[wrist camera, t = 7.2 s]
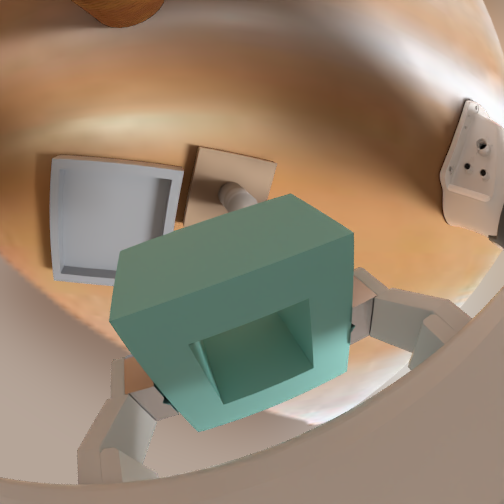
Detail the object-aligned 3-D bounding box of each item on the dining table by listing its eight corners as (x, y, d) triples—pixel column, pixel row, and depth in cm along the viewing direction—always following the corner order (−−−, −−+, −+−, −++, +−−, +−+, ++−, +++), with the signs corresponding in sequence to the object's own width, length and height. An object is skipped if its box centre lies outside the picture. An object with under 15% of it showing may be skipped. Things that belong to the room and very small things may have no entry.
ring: (120, 251, 8) (109, 321, 5) (290, 193, 9) (353, 233, 6) (182, 365, 11) (198, 432, 8) (306, 317, 12) (346, 371, 10)
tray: (59, 154, 18) (52, 158, 16) (181, 166, 22) (184, 171, 21) (59, 269, 22) (53, 280, 21) (163, 278, 27) (165, 289, 25)
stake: (198, 145, 22) (208, 153, 18) (272, 161, 25) (298, 173, 21) (182, 222, 25) (189, 247, 21) (253, 230, 27) (273, 254, 23)
